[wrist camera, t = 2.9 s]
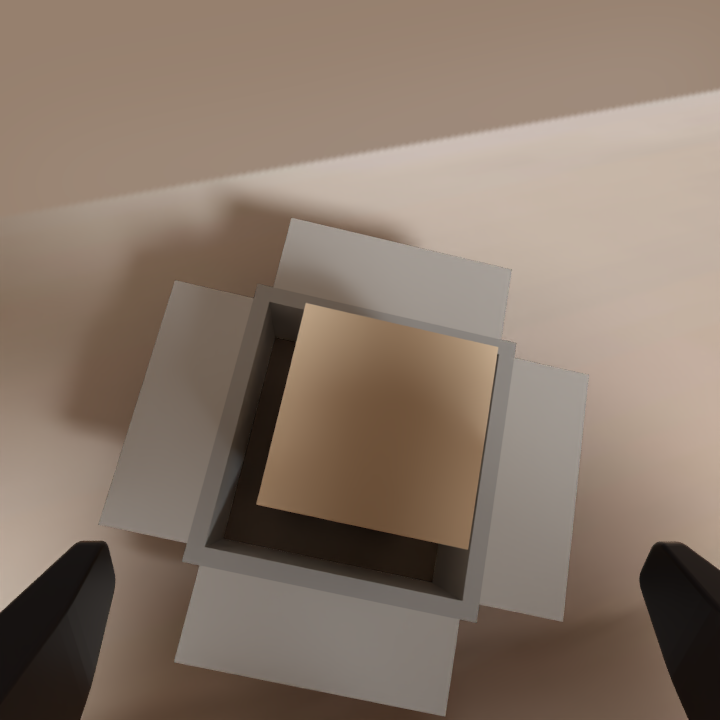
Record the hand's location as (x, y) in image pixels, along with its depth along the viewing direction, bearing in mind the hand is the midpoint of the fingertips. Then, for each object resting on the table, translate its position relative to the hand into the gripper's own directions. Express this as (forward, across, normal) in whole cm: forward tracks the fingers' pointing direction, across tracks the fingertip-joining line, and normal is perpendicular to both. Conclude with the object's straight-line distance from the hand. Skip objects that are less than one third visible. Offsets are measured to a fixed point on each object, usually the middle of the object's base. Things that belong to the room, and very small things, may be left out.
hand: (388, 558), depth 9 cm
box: (+10, 0, +6) cm, 12 cm away
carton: (+10, 0, +6) cm, 12 cm away
